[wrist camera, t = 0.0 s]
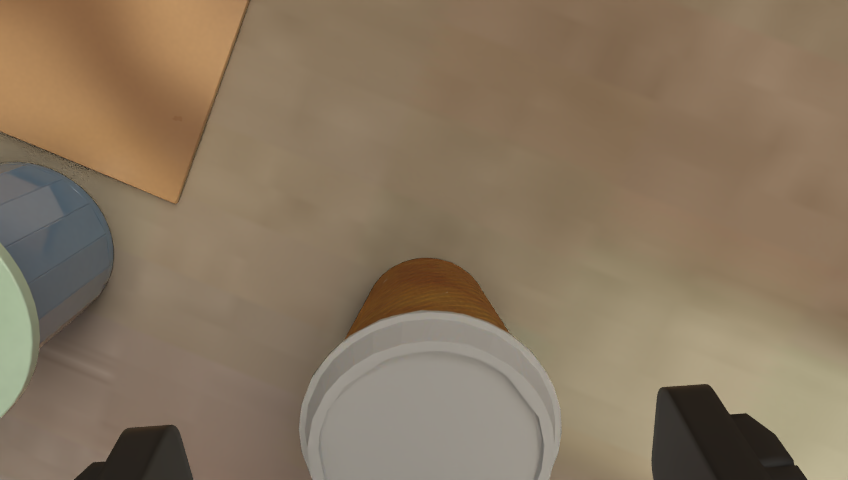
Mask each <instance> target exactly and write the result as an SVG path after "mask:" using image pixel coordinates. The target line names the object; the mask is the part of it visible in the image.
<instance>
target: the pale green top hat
mask: <svg viewBox="0 0 848 480" xmlns="http://www.w3.org/2000/svg"><path fill="white" fill-rule="evenodd" d="M39 344H40V330H39V319H38V314H37V310H36V305H35V302H34V299H33V296H32V293H31V291H30V288H29V285H28V283H27V281H26V280H25V278H24V276H23V274H22V272H21V270H20V268H19V267H18V265H17V264H16V262H15V261H14V259H13V258H12V256H11V255H10V253H9V252H8V251H7V250H6V249H5V247H4V246H3V245H2V244H1V243H0V418H1V417H2V416H3V415H5V414H6V413H7V412H8V411H9V410H10V409H11V408H12V407H13V406H14V405H15V403H16V402H17V401H18V400H19V399H20V398H21V396H22V395H23V393H24V391H25V390H26V388H27V387H28V385H29V383H30V381H31V378H32V376H33V373H34V371H35V368H36V363H37V359H38V355H39Z"/></svg>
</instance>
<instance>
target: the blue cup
mask: <svg viewBox="0 0 848 480" xmlns="http://www.w3.org/2000/svg"><path fill="white" fill-rule="evenodd" d="M0 243H1V244H2V245H3V246H4V247H5V249H6V250H7V251H8V252H9V253H10V255H11V256H12V258H13V259H14V261H15V262H16V264H17V265H18V267H19V268H20V270H21V272H22V274H23V276H24V278H25V280H26V281H27V283H28V285H29V288H30V291H31V293H32V296H33V299H34V302H35V305H36V310H37V314H38V319H39V330H40V344H39V348H41V347H42V346H43V345H44V344H45V343H47V342H48V341H49V340H50V339H51V338H53V337H54V336H55V335H56V334H57V333H58V332H60V331H61V330H62V329H63V328H64V327H66V326H67V325H68V324H69V323H70V322H72V321H73V320H74V319H75V318H76V317H78V316H79V315H80V314H81V313H82V312H83V311H84V310H85V309H86V308H87V307H88V306H89V305H90V304H91V303H92V302H94V301H95V300H96V299H97V297H98V296H99V295H100V294H101V293H102V291H103V289H104V288H105V286H106V284H107V282H108V280H109V277H110V274H111V270H112V266H113V243H112V237H111V233H110V230H109V227H108V224H107V222H106V220H105V218H104V216H103V214H102V212H101V211H100V209H99V208H98V206H97V205H96V203H95V202H94V201H93V200H92V198H91V197H90V196H89V195H88V194H87V193H86V192H85V191H84V190H83V189H82V188H81V187H80V186H78V185H77V184H76V183H75V182H73V181H72V180H70V179H69V178H67V177H65V176H64V175H62V174H60V173H58V172H56V171H54V170H52V169H49V168H46V167H43V166H40V165H35V164H31V163H22V162H6V163H0Z"/></svg>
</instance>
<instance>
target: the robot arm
mask: <svg viewBox="0 0 848 480" xmlns="http://www.w3.org/2000/svg"><path fill="white" fill-rule="evenodd" d="M652 473H653V479H654V480H807V478H806V477H805V476H804V474H803V473H802V471H801V470H800V469H799V467H798V466H797V465H796V466H795V465H794V462H793V459H792V457H791V456H790V455H789V453H788V452H787V451H786V449H785V448H784V446H783V445H782V444H781V442H780V441H779V439H778V438H777V437H776V435H775V434H774V433H772V432H771V431H770V430H768V429H767V428H766V427H764V426H763V425H761V424H760V423H759V422H757V421H756V420H755V419H753V418H752V417H751V416H749V415H748V414H746V413H745V414H731V415H730V414H729V413H728V411H727V410H726V408H725V407H724V405H723V404H722V402H721V401H720V399H719V398H718V396H717V395H716V393H715V391H714V390H713V389H712V388H711V387H710V386H709V385H707V384H701V385H687V386H673V387H662V388H660V389H659V391H658V395H657V403H656V414H655V425H654V437H653V448H652ZM74 480H193V477H192V473H191V470H190V466H189V463H188V459H187V456H186V453H185V449H184V446H183V442H182V439H181V435H180V433H179V430H178V429H177V427H176V426H174V425H162V426H148V427H135V428H127V429H126V430H124V431H123V432H122V434H121V435H120V437H119V439H118V440H117V442H116V444H115V446H114V448H113V449H112V451H111V453H110V455H109V457H108V458H107V460H106V462H94V463H92V464H91V465H89V466H88V467H87V468H86V469H85V470H84V471H83V472H82V473H81V474H80V475H79V476H77V477H76V478H75V479H74Z"/></svg>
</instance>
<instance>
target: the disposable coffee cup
mask: <svg viewBox="0 0 848 480" xmlns="http://www.w3.org/2000/svg"><path fill="white" fill-rule="evenodd" d="M299 433H300V442H301V451H302V454H303V457H304V459H305V462H306V465H307V467H308V470H309V473H310V475H311V477H312V480H549V479H550V475H551V470H552V467H553V465H554V462H555V460H556V457H557V454H558V451H559V445H560V438H561V409H560V406H559V403H558V399H557V396H556V392H555V389H554V386H553V384H552V382H551V380H550V379H549V377H548V375H547V373H546V371H545V370H544V368H543V367H542V366H541V364H540V363H539V362H538V360H537V359H536V358H535V356H534V355H533V354H532V352H531V351H530V350H529V349H528V348H527V347H525V346H524V345H523V344H522V343H520V342H519V341H518V340H517V339H515V338H514V337H513V336H512V335H511V334H510V333H509V332H508V330H507V329H506V327H505V326H504V324H503V322H502V321H501V319H500V318H499V316H498V314H497V313H496V312H495V310H494V308H493V307H492V305H491V304H490V302H489V301H488V299H487V298H486V296H485V295H484V293H483V291H482V290H481V288H480V286H479V284H478V283H477V282H476V281H475V280H474V278H473V277H472V276H471V275H470V274H468V273H467V272H466V271H464V270H463V269H462V268H461V267H459V266H457V265H455V264H453V263H451V262H447V261H444V260H440V259H433V258H419V259H413V260H409V261H406V262H402V263H400V264H398V265H396V266H394V267H392V268H391V269H390V270H388V271H387V272H386V273H385V274H383V275H382V276H381V277H380V279H379V280H378V281H377V282H376V283H375V285H374V286H373V288H372V290H371V292H370V293H369V296H368V298H367V300H366V302H365V303H364V305H363V307H362V309H361V310H360V312H359V314H358V316H357V318H356V320H355V321H354V323H353V325H352V327H351V329H350V330H349V332H348V334H347V336H346V338H345V340H344V341H343V342H342V343H341V344H339V345H338V346H337V347H336V348H335V349H334V350H332V351H331V353H330V354H329V355H328V356H327V358H326V359H325V360H324V362H323V363H322V364H321V365H320V367H319V368H318V369H317V371H316V372H315V373H314V375H313V377H312V379H311V381H310V384H309V387H308V389H307V392H306V395H305V397H304V400H303V403H302V405H301V414H300V425H299Z"/></svg>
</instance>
